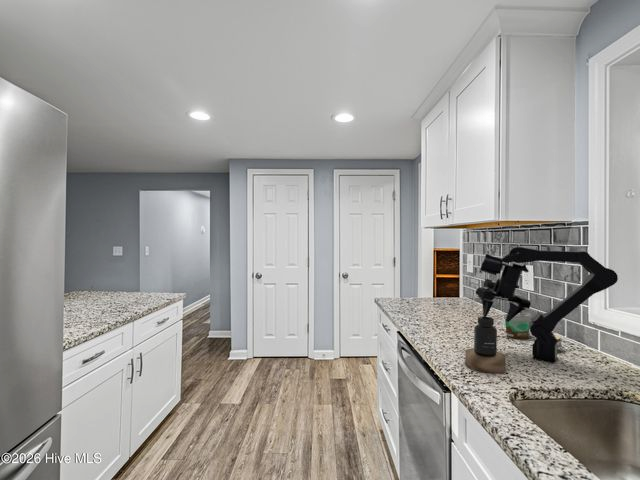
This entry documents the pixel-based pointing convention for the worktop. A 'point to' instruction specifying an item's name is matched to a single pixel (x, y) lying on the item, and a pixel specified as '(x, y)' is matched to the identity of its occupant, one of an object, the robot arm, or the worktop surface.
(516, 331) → the food container
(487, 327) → the supplement bottle
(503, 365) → the walnut plinth
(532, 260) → the robot arm
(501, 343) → the worktop surface
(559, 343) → the stacked layers on plate
